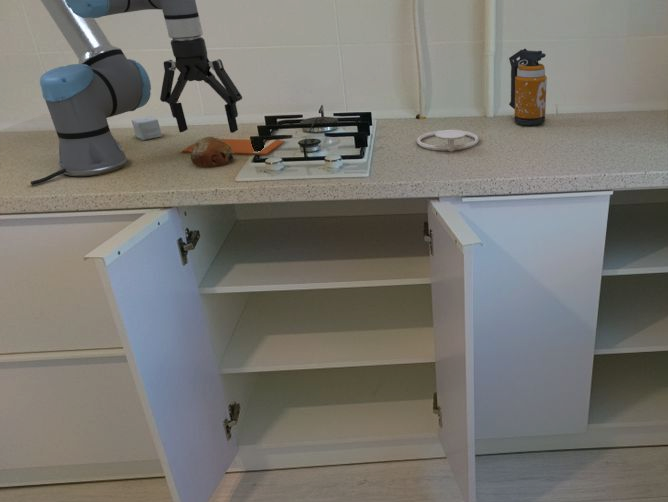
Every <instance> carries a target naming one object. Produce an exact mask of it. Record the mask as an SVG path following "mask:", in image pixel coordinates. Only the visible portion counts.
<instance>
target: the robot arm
mask: <svg viewBox="0 0 668 502" xmlns="http://www.w3.org/2000/svg"><path fill="white" fill-rule="evenodd" d="M40 2H41V3H42V5H43V7H44V8H45V9H46V11H47V12H48V14H49V16H50V17H51V19H52V20H53V22H54V23H55V24H56V27H57V28H58V29H59V31H60V33H61V34H62V36H63V37H64V39H65V40H66V42H67V44H68V45H69V46H70V48H71V50H72V51H73V52H74V54H75V56H76V57H77V59H78V62H77V63H75V64H67V65H62V66H59V67H55V68H52V69H50V70H47V71H46V72H44V73H42V75H41V76H40V78H39V85H40V88H41V89H40V90H41V92H42V98H43V99H44V101H45V103H46V107H47V109H48V112H49V115H50V119H51V121H52V123H53V126H54V130H55V132H56V135H57V138H58V153H59V154H58V155H59V161H58V163H59V168H60V170H57V171H56V172H53V173H51V174H49V175H47V176H44V177H42V178H39V179H36V180H31V181H30V185H31V186H35V185H39V184H42V183H45V182H48V181H50V180H51V179H54V178H56V177H58V176H60V175H65V176H69V177H92V176H100V175H104V174H108V173H113V172H115V171H118V170H120V169H122V168H125V166H127V165H128V158H127V156H126V153H125V152H124V151H123V149H122V148H123V147H122V145H121V143H120V142H119V141H117V140H116V138H115V137H114V136H113V133H112V132H111V129H110V126H109V122H108V119H109V118H112V117H115V116H118V115H121V114H125V113H129V112H134V111H136V110H137V109H140V108H142V107H144V106H146V105H147V104H148V103H149V100H150V98H151V94H152V92H151V90H152V85H151V80H150V76H149V74H148V72H147V70H146V69H145V68H144V66H143V65H142V64H141V63H140V62H137V61H136V60H135V59H131V58H127V56H126V55H125V53H124V52H123V50H122V49H121V48H120V47H118V46H114V45H112V44H111V42H110V40H108V37H107V36H106V35H105V33H104V31H103V30H102V28H101V27H100V24H99V23H98V22H97V20H96V19H100V18H103V17H108V16H112V15H113V16H114V15H118V14H126V13H132V12H133V13H134V12H138V11H147V10H160V11H162V15H163V19H164V22H165V26H166V30H167V35H168V38H170V39H171V40H170V46H171V50H172V54H173V57H174V58H175V61H173V59H168V60H165V61H163V69H164V74H163V80H162V85H161V91H160V96H159V99H160V101H161V102H162V103H167V104H168V105H169V108H170V111H171V115H172V117H173V119H175V120H176V124H177V128H178V131H179V133H184V132H185V131H188V130H189V129H188V123H187V121H186V117H185V112H184V109H183V103H182V102H179V99H180V97H181V96H182V95H181V94H182V93H183V91H184V89H185V87H186V85H187V83H188V82H193V81H196V82H202V81H203V82H204V83H206V84H208V85H209V86H210V88H212V90H213V91H214V92H215V93H217V95H218V96H219V97H220V98H221V99H222V100H223V101H224V102H225V103H226V104H224V111H225V114H226V118H227V119H226V120H227V123H228V128H229V132H230V133H231V134H233V133H236V132H237V131H239V127H238V123H237V118H238V116H239V113H238V107H237V103H238V102H239V101H242V100H243V96H242V94H241V92H240V91H239V89H238V88H237V86H236V85H235V83H234V81H233V80H232V79H231V77H230V75H229V74H228V73H227V71H226V70H225V68H224V64H223V61H222V60H221V59H220V58H218V59H215V60H211V61H210V60H209V57H208V49H207V46H206V45H207V44H206V41H205V39H204V38H203V37H202V36H203V34H204V33H203V28H202V24H201V23H202V22H201V19H200V15H199V10H198V7H197V3H196V0H40ZM176 69H177V71H178V72H179V74H178V77H177V78H176V79H177V80H176V82H175V85H174V86H173V84H174V78H175V72H176ZM211 69H212V70H213V71H214V72H215V74H216V76H217V78H218V79H219V80H218V79H217V78H216V76H215V75H214V73H213V72H212V71H211Z"/></svg>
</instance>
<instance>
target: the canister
mask: <svg viewBox="0 0 668 502" xmlns="http://www.w3.org/2000/svg"><path fill="white" fill-rule="evenodd" d="M545 57H546V53H544V52H543V51H542V50H528V49H527V48H523V49H520V50H518V51H517V52H516V53H514V54H513V55H511V56H509V58H508V60H509V64H510V69H511V70H510V102H509V103H508V105H509V106H510V107H511V108H512V109H513V110H514V119H513V121H514V123H516V124H519V125H520V126H525V127H532V126H533V127H535V126H539V125H540V124H543V123H545V122H546V106H547V104H546V103H547V83H548V82H547V81H548V77H547V76H546V68H545V65H544V64H543V63H539V62H540V61H542V59H544V58H545Z"/></svg>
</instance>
